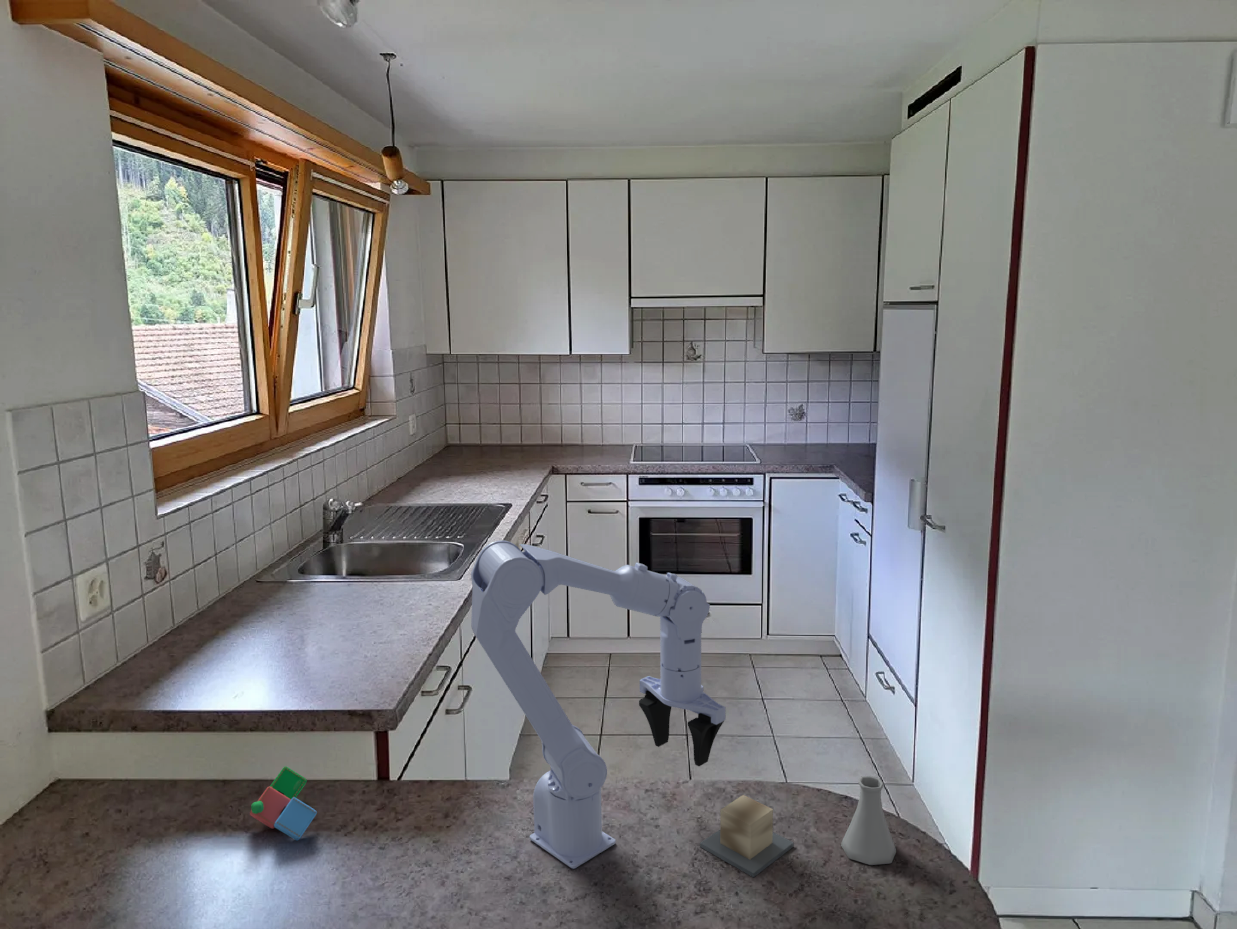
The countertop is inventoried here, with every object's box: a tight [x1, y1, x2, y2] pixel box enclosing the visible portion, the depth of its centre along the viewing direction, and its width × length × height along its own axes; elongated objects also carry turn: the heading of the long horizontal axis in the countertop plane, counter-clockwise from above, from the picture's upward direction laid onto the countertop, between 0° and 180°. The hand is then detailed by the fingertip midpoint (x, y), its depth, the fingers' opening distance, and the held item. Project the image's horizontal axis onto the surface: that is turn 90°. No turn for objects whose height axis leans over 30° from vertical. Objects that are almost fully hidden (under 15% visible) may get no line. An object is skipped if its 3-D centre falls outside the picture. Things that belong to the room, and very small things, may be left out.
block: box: [719, 794, 774, 859], centre depth 113 cm, size 5×5×5 cm
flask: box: [840, 775, 897, 866], centre depth 112 cm, size 7×7×10 cm
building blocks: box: [249, 766, 318, 841], centre depth 121 cm, size 8×8×12 cm
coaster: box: [699, 829, 795, 878], centre depth 114 cm, size 9×9×1 cm
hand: (681, 753), depth 119 cm, fingers open, 7 cm apart
